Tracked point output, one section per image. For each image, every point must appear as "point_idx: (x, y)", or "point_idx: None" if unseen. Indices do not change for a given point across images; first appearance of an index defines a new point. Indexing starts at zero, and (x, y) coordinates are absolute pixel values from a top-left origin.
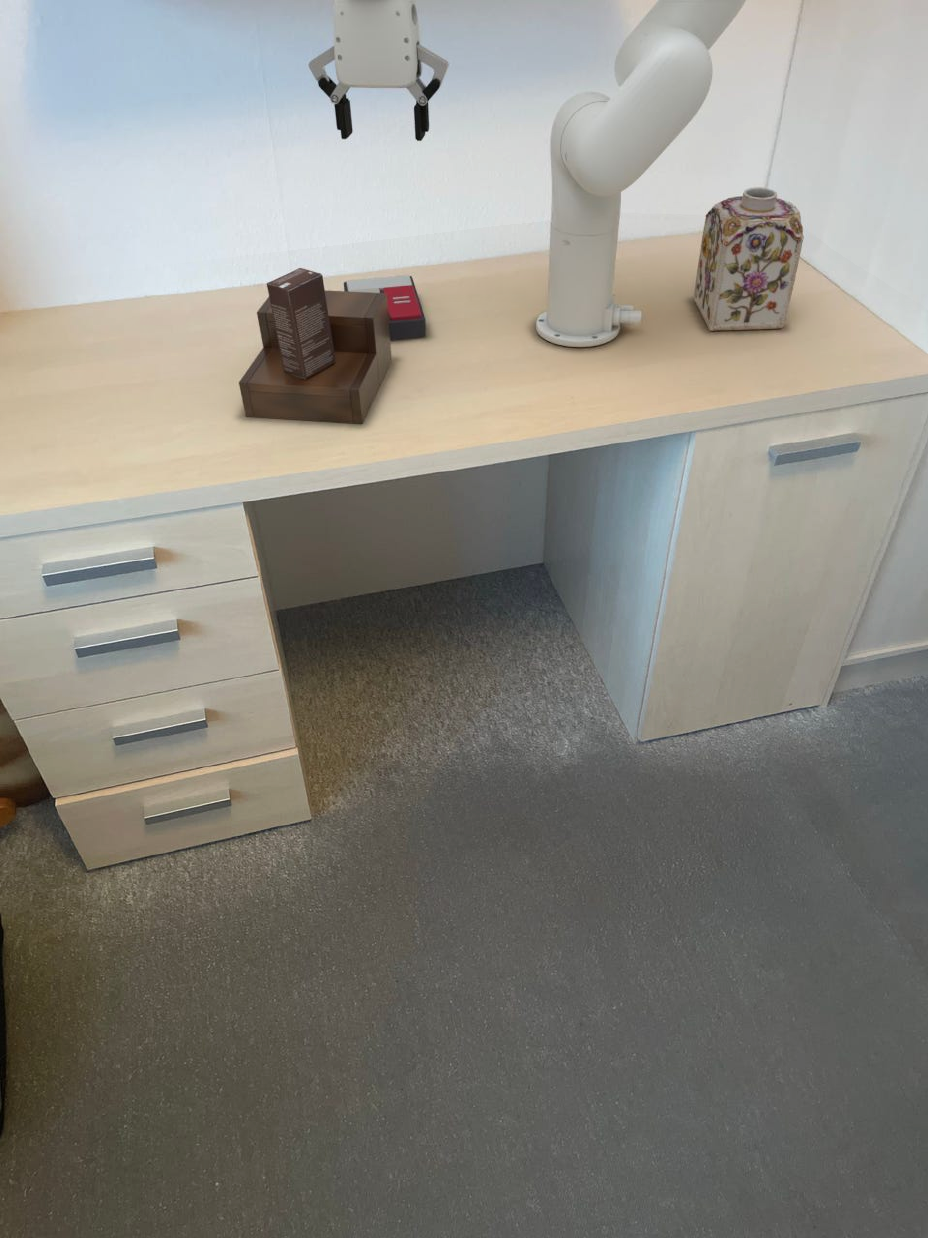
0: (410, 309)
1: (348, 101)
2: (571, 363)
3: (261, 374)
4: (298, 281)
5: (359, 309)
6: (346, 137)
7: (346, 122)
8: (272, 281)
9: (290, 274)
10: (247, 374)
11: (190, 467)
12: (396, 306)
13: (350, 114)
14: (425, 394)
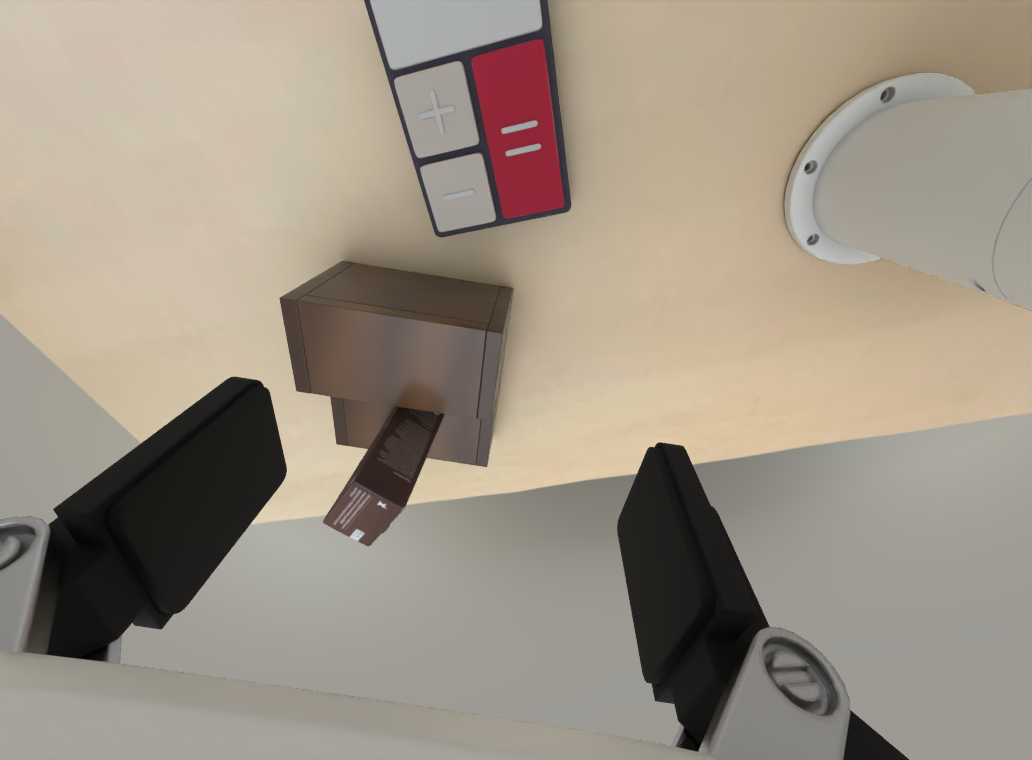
0: (541, 184)
1: (134, 537)
2: (797, 310)
3: (356, 429)
4: (373, 528)
5: (463, 392)
6: (282, 475)
7: (241, 514)
8: (330, 519)
9: (349, 503)
10: (338, 428)
11: (342, 488)
12: (512, 169)
13: (202, 454)
14: (564, 382)
